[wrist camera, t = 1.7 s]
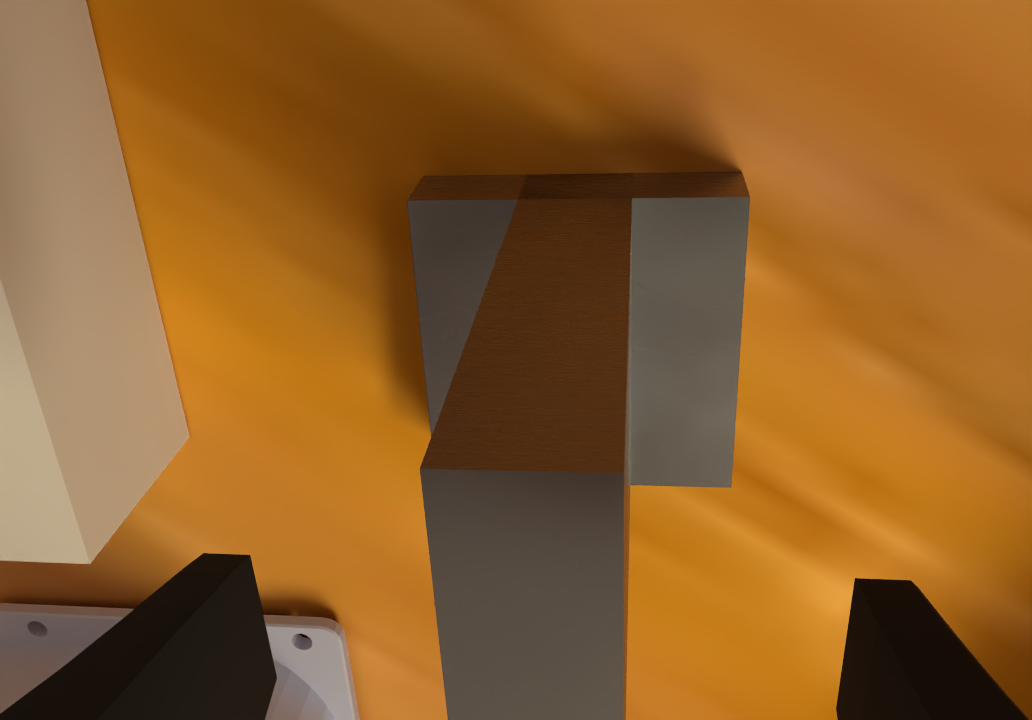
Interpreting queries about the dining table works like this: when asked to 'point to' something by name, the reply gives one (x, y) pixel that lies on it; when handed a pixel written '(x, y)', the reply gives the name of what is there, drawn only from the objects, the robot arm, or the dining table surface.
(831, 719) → the dining table surface
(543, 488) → the tall grey block
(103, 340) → the well block
